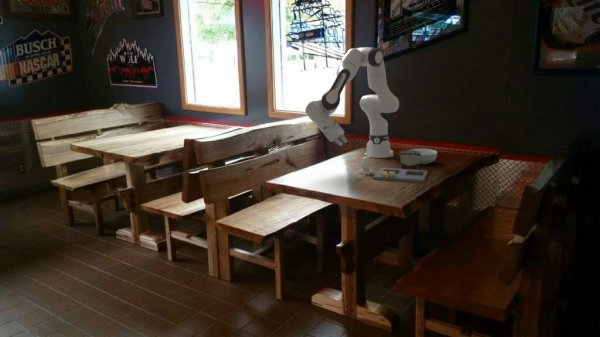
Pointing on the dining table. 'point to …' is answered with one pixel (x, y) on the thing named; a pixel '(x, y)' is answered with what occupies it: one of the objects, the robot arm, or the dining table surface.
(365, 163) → the gear shaft
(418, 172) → the gear board
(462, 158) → the dining table surface
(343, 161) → the dining table surface
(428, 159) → the cereal bowl
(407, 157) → the food container
